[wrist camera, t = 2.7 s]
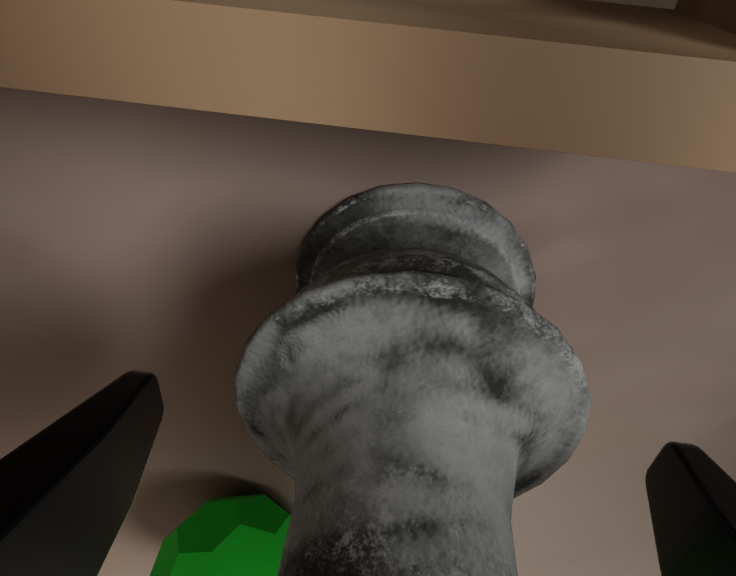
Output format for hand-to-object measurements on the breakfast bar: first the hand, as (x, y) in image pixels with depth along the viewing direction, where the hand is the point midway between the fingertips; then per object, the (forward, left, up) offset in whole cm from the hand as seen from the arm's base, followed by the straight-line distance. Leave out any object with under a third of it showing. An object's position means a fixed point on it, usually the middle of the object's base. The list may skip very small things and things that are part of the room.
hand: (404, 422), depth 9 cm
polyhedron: (+4, +10, -4) cm, 11 cm away
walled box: (+6, -13, -4) cm, 15 cm away
